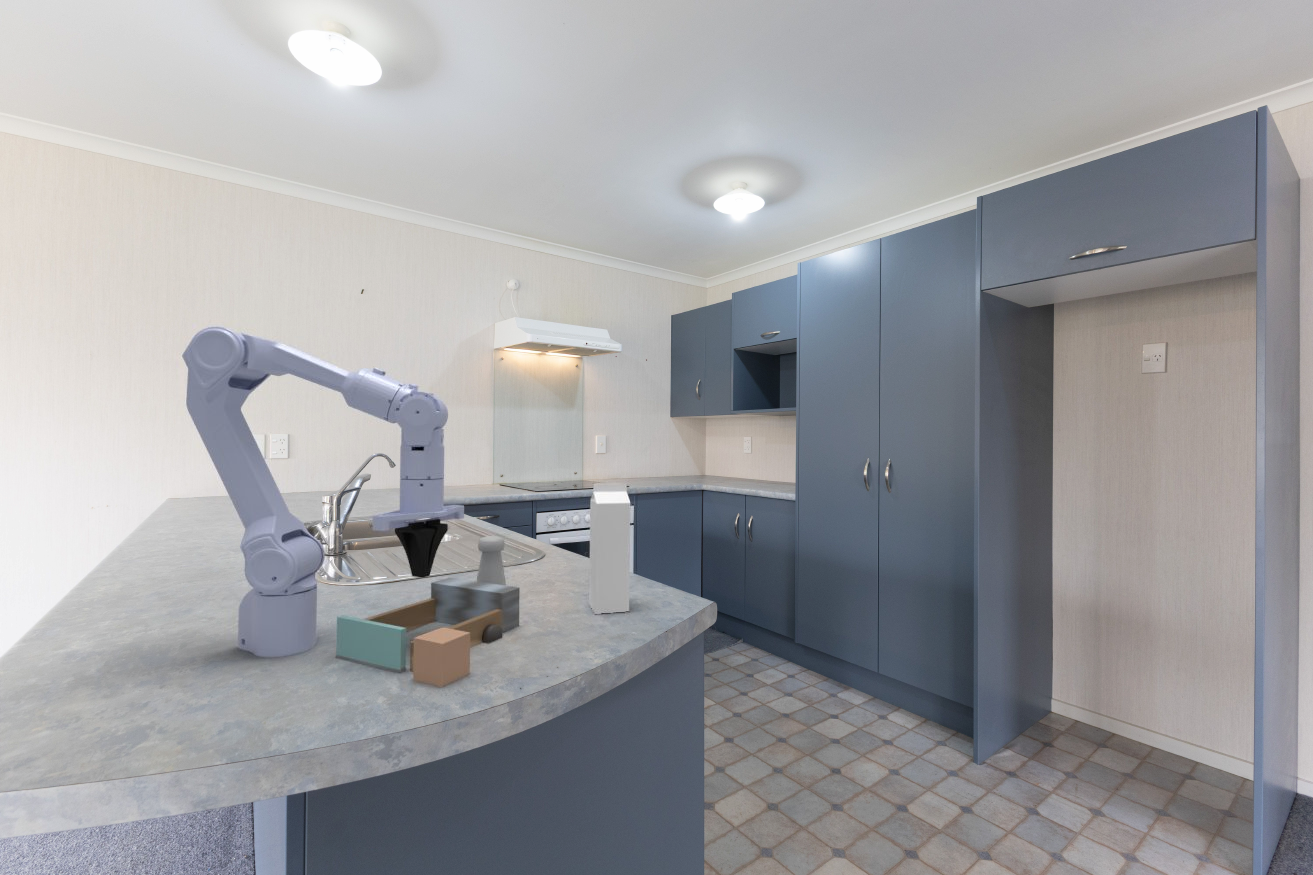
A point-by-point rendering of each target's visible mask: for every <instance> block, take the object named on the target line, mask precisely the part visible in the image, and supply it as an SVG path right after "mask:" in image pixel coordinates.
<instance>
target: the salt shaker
mask: <svg viewBox="0 0 1313 875" xmlns="http://www.w3.org/2000/svg"><path fill="white" fill-rule="evenodd" d="M477 547H478V551H479V552H481V556H480V561H479V565H478V572H477V575H476V576H477V577H476V581H477V582H484V583H491V584H498V585H505V586H507V583H506V575H505V570H504V563H503V557H502V551H504V549H505V538H504V537H501V536H498V535H487V536H483V537H481V538H480V539H479V540H478V545H477Z"/></svg>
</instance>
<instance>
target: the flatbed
mask: <svg viewBox="0 0 1313 875" xmlns="http://www.w3.org/2000/svg"><path fill="white" fill-rule="evenodd" d="M430 585H431V586H430V598H428V599H424V600H420V601H417V602H414V603H411V604H407V605H405V606H401V607H398V608H394V609H391V610H388V611H385V612H382V613H378V614H375V615H373V616H369V617H365V618H363V619H364V620H369V621H374V622H379V623H384V624H389V625H394V626H399V627H404V628H406V632H409V631H411V630H414V629H417V628H420V627H423V626H425V625H428V624H431V623H434V622H439V623H443V624H444V623H445V624H450V625H451V626H449V627H447V628H449V629H454V630H459V631H464V632H470V648H472V647H474V646H477V645H479V644H481V643H485V644H491V643H493V642H495V641H498V640H500V639H501V638H503V636H504V635H503V633H506V632H508V631H511V630H513V629H515V628H518V627H520V592H521V591H520V586H519V587H518V586H511V585H506V586H505V585H498V584H491V583H484V582H477V580H470V579H462V578H457V577H456V578H455V577H447V578H444V579H440V580H437V581H433V582H431V583H430ZM409 649H410V650H409V652H410V653H409V670H410V671H412V672H413V663H414V640H412V641H410V644H409Z"/></svg>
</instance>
